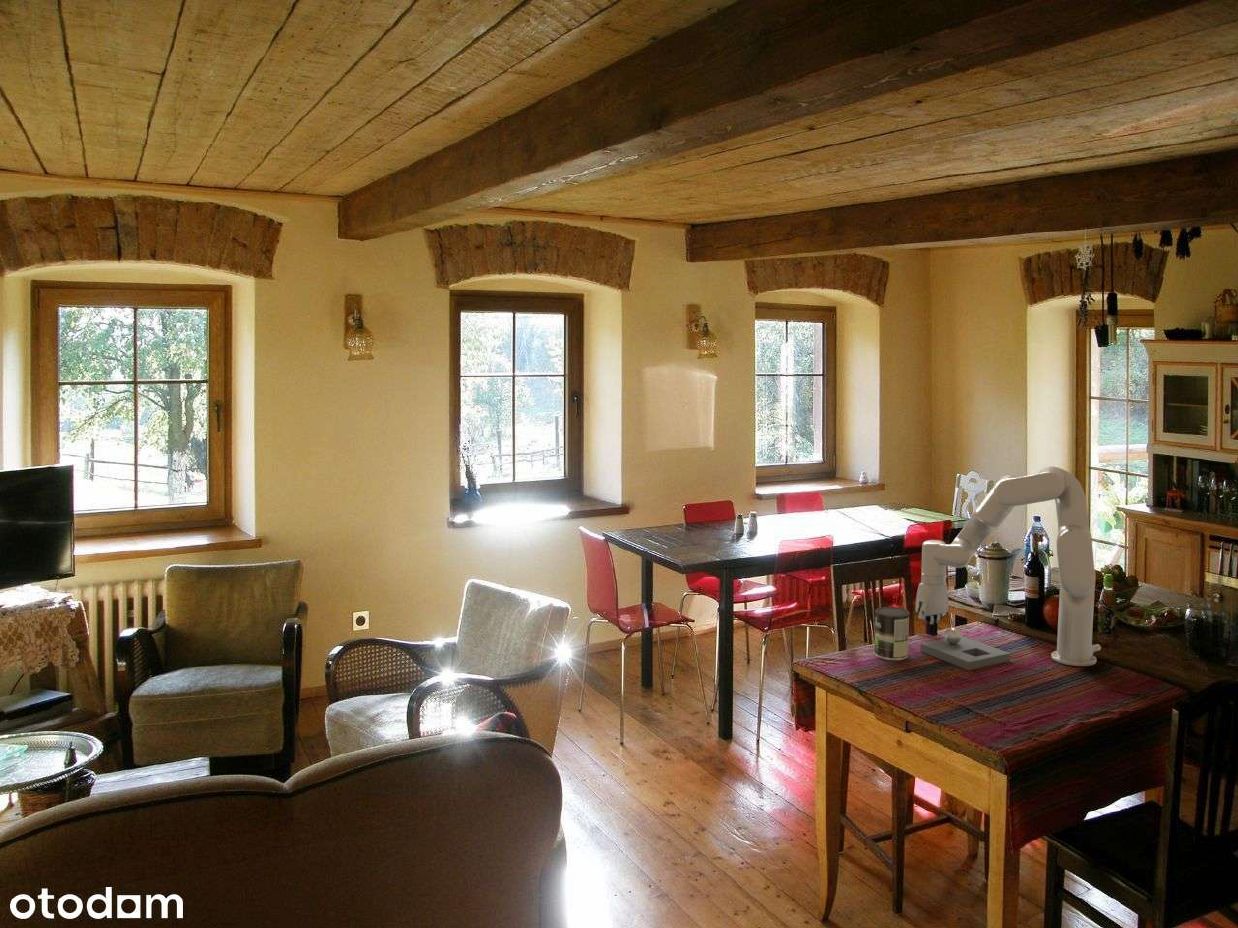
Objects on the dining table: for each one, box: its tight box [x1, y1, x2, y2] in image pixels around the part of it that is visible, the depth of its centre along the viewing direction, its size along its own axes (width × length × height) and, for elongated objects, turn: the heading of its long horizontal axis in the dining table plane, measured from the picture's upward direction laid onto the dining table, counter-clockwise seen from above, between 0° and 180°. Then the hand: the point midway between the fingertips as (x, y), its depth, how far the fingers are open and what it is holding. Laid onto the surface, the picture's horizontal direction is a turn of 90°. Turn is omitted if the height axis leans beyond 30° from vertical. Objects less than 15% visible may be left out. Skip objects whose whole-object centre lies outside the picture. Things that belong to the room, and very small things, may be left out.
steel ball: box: [944, 627, 962, 644], centre depth 315 cm, size 5×5×5 cm
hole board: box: [920, 635, 1011, 671], centre depth 311 cm, size 17×20×2 cm
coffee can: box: [873, 606, 911, 661], centre depth 312 cm, size 10×10×14 cm
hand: (931, 634), depth 323 cm, fingers closed
